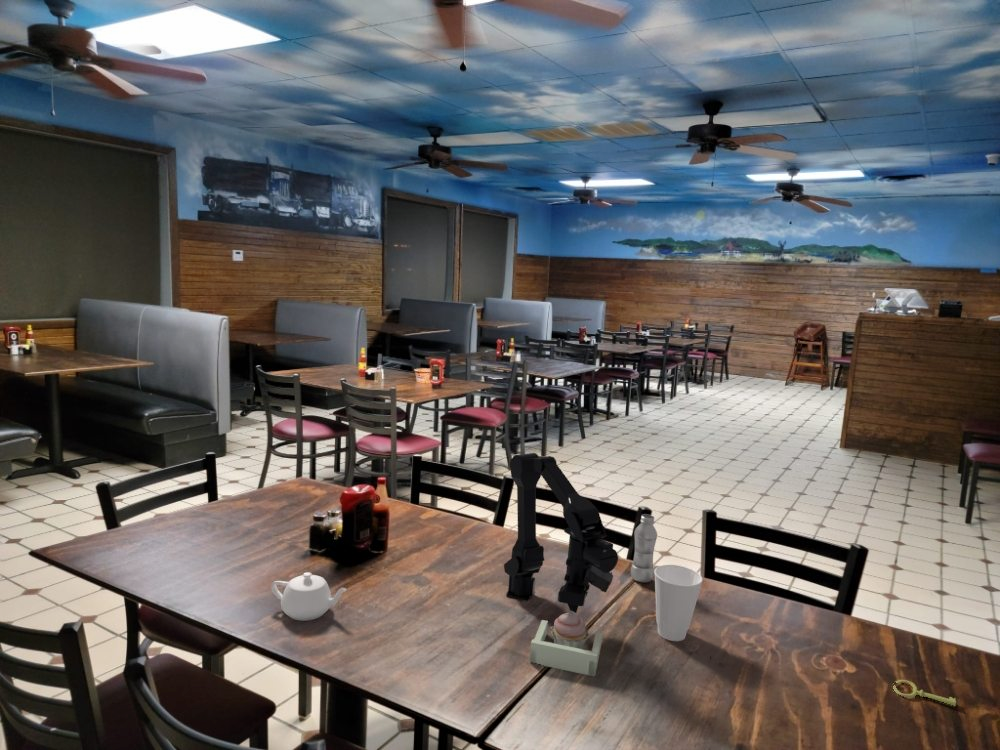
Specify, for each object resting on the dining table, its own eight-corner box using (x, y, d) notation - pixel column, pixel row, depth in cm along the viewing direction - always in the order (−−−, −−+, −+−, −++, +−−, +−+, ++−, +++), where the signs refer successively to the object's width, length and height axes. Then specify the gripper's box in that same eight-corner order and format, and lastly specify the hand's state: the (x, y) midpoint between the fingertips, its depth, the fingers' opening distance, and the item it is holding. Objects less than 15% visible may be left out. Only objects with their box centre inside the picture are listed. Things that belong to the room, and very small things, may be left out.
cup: (696, 628, 173) (703, 570, 171) (694, 651, 162) (701, 589, 160) (650, 617, 177) (656, 560, 175) (644, 639, 166) (651, 579, 163)
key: (958, 712, 146) (960, 703, 146) (895, 698, 150) (896, 689, 149) (947, 693, 153) (948, 685, 153) (887, 681, 156) (888, 672, 156)
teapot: (355, 606, 172) (356, 569, 171) (334, 631, 160) (335, 591, 159) (284, 594, 176) (284, 558, 174) (258, 617, 164) (258, 579, 162)
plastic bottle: (652, 586, 195) (660, 521, 192) (629, 583, 196) (636, 518, 193) (652, 577, 201) (659, 514, 198) (629, 573, 202) (636, 511, 199)
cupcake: (564, 634, 166) (568, 597, 164) (595, 651, 159) (599, 612, 158) (540, 648, 159) (543, 609, 158) (571, 665, 153) (574, 625, 151)
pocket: (529, 662, 153) (531, 642, 152) (540, 632, 166) (542, 614, 165) (594, 676, 149) (596, 655, 148) (601, 645, 162) (603, 626, 161)
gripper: (608, 577, 153) (601, 640, 156) (616, 546, 171) (610, 603, 173) (560, 568, 156) (554, 630, 158) (573, 539, 174) (567, 594, 176)
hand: (573, 614), depth 167 cm, fingers closed
